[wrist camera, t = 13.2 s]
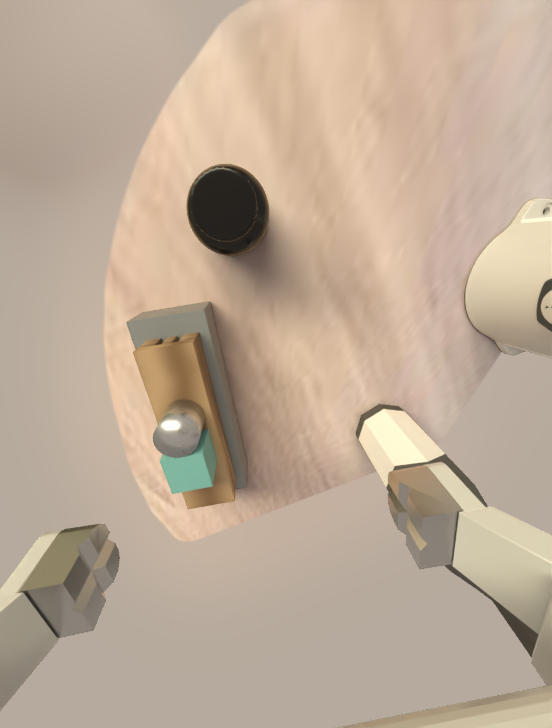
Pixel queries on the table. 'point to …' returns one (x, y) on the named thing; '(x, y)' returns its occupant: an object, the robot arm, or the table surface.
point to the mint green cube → (192, 467)
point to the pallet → (192, 382)
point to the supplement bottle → (228, 210)
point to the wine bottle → (410, 449)
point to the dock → (203, 322)
